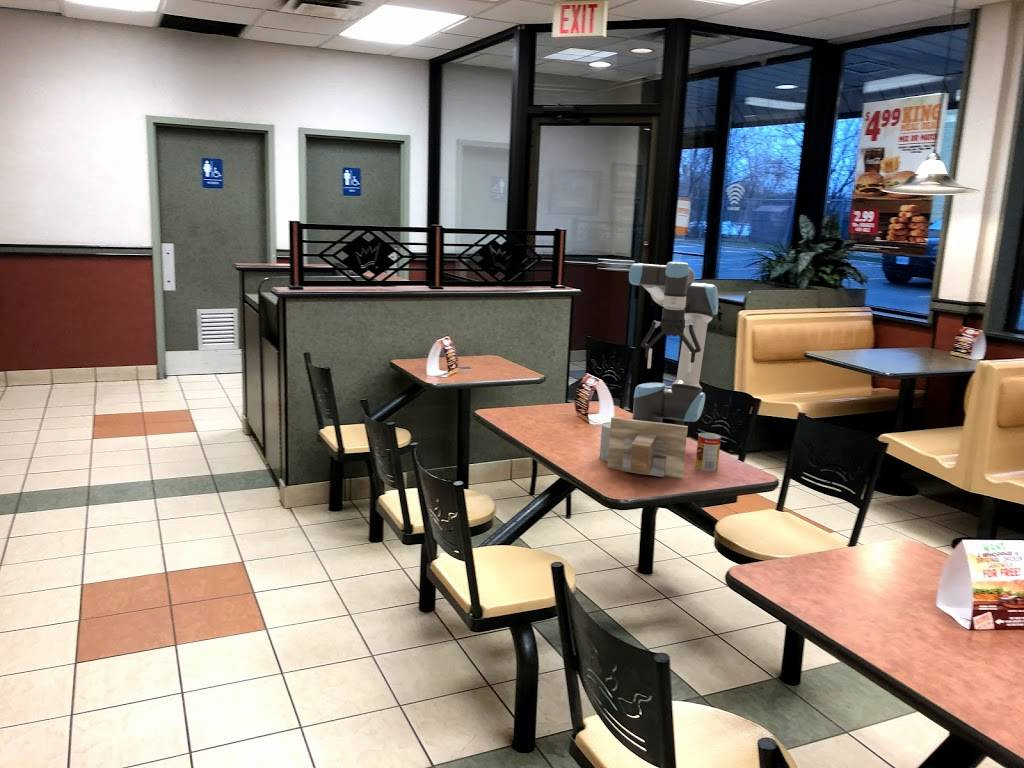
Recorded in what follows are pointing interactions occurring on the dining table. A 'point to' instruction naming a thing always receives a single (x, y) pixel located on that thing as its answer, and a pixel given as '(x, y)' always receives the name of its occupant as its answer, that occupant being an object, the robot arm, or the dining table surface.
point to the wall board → (665, 449)
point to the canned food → (708, 451)
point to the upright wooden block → (642, 454)
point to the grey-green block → (605, 441)
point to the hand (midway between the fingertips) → (668, 369)
